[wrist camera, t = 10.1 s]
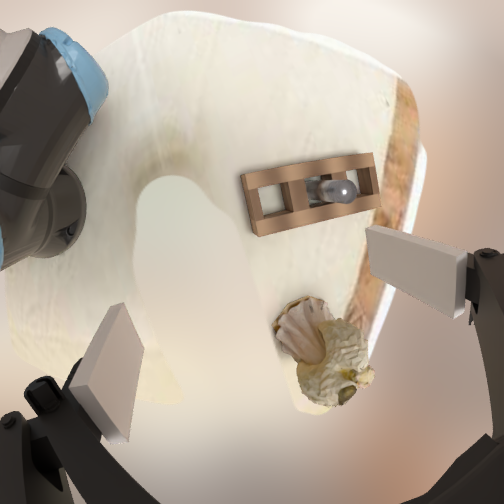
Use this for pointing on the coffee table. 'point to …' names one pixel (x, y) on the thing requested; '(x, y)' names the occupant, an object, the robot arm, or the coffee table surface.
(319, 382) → the figurine
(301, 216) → the hole block
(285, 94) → the coffee table surface
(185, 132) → the coffee table surface
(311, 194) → the peg
